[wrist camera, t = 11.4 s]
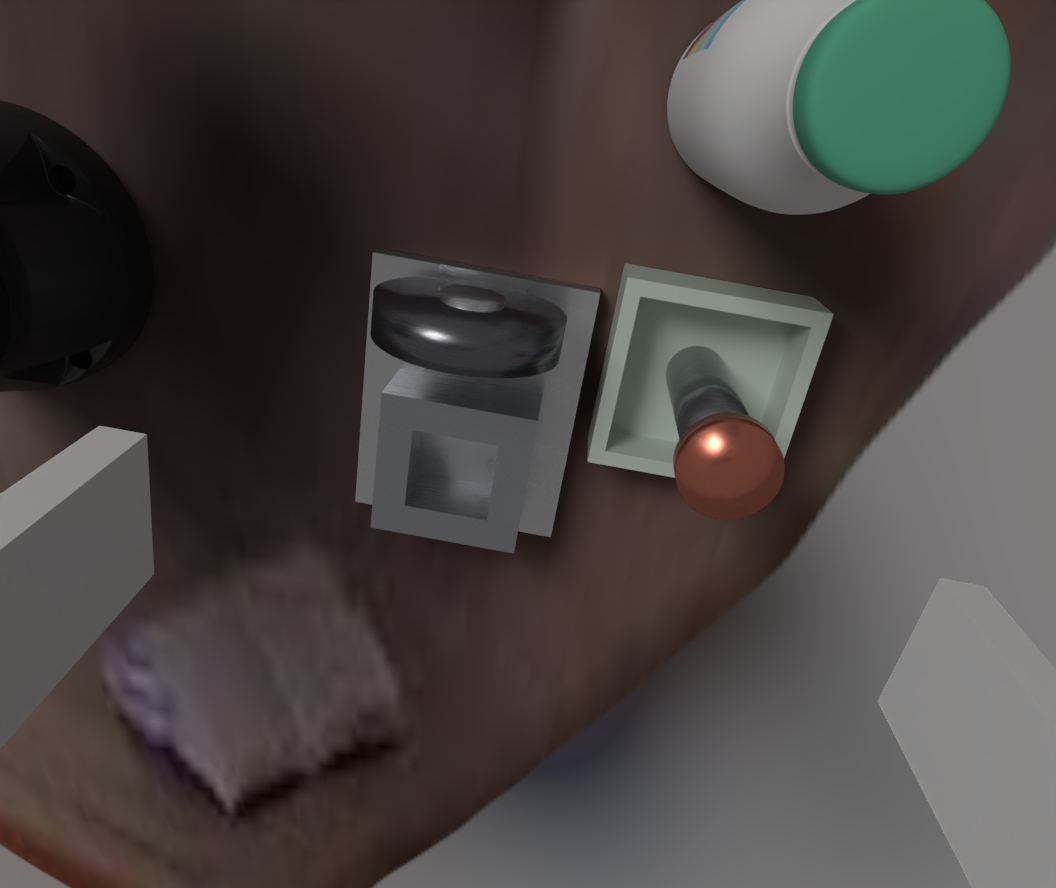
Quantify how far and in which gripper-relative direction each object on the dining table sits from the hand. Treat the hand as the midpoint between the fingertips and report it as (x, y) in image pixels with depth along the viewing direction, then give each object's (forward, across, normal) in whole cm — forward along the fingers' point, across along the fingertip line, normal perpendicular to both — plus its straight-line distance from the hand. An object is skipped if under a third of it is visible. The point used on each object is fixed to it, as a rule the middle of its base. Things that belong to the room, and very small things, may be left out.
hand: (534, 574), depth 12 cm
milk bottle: (+29, +7, +8) cm, 31 cm away
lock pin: (+28, +8, -5) cm, 30 cm away
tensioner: (+29, -3, -9) cm, 31 cm away
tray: (+29, +8, -5) cm, 30 cm away
